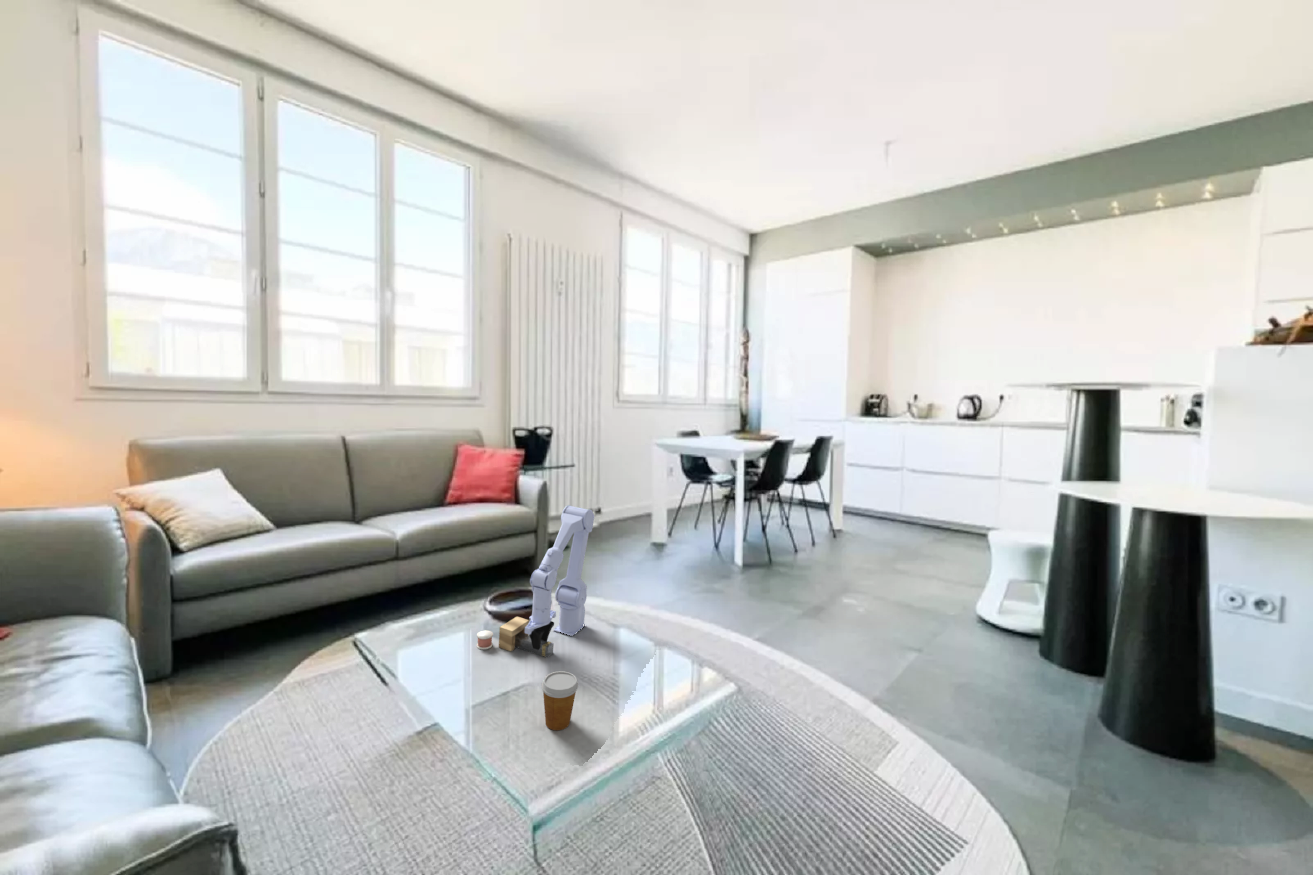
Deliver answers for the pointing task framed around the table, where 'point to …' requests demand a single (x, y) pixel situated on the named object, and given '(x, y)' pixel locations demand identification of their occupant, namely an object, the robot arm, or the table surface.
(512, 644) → the wooden u-shaped cradle
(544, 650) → the dark grey bar
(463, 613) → the table surface
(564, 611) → the robot arm
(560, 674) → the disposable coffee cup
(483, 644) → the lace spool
